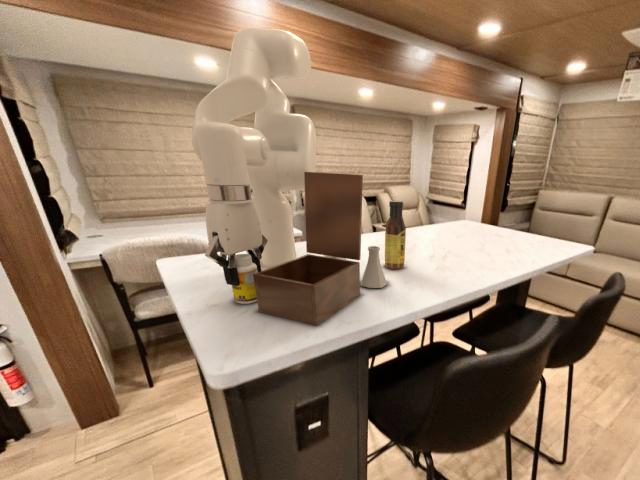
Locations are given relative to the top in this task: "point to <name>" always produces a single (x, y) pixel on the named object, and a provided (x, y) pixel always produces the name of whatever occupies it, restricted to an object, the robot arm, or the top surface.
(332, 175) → the lid
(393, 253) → the sauce bottle
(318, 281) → the brown wooden box
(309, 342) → the top surface
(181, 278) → the top surface
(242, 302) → the supplement bottle
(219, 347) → the top surface
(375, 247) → the flask
